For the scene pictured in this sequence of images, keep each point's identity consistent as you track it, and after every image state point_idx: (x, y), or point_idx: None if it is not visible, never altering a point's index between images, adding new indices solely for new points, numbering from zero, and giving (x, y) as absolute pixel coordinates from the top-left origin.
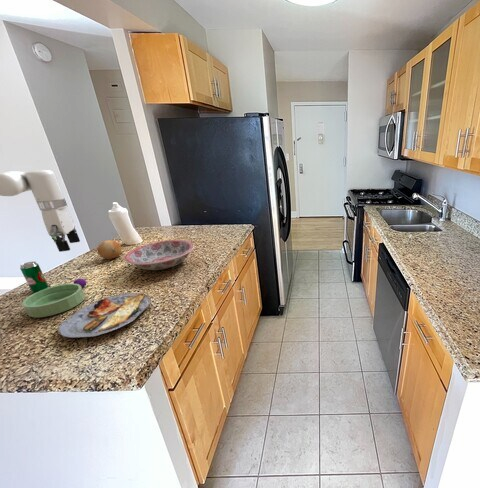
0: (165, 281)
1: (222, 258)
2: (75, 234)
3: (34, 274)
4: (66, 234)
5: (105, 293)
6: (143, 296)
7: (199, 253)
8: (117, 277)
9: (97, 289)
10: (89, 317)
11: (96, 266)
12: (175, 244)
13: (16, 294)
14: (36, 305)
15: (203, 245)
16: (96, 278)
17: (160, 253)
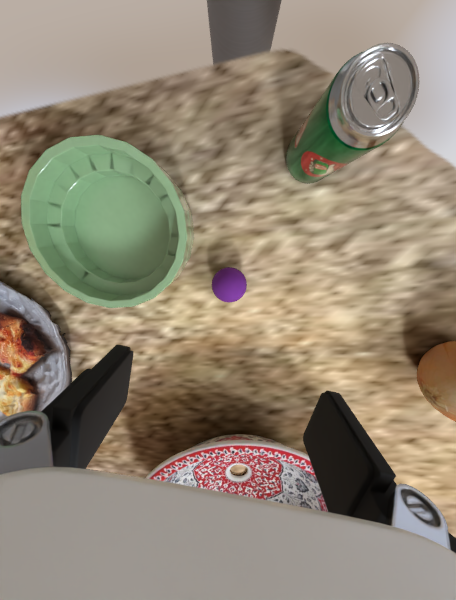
0: (125, 455)
1: None
2: (331, 512)
3: (311, 138)
4: (378, 466)
5: (137, 338)
6: None
7: None
8: (236, 367)
9: (180, 320)
10: (2, 309)
11: (394, 315)
12: None
13: (326, 75)
14: (125, 174)
15: None
16: (274, 317)
17: (302, 489)
